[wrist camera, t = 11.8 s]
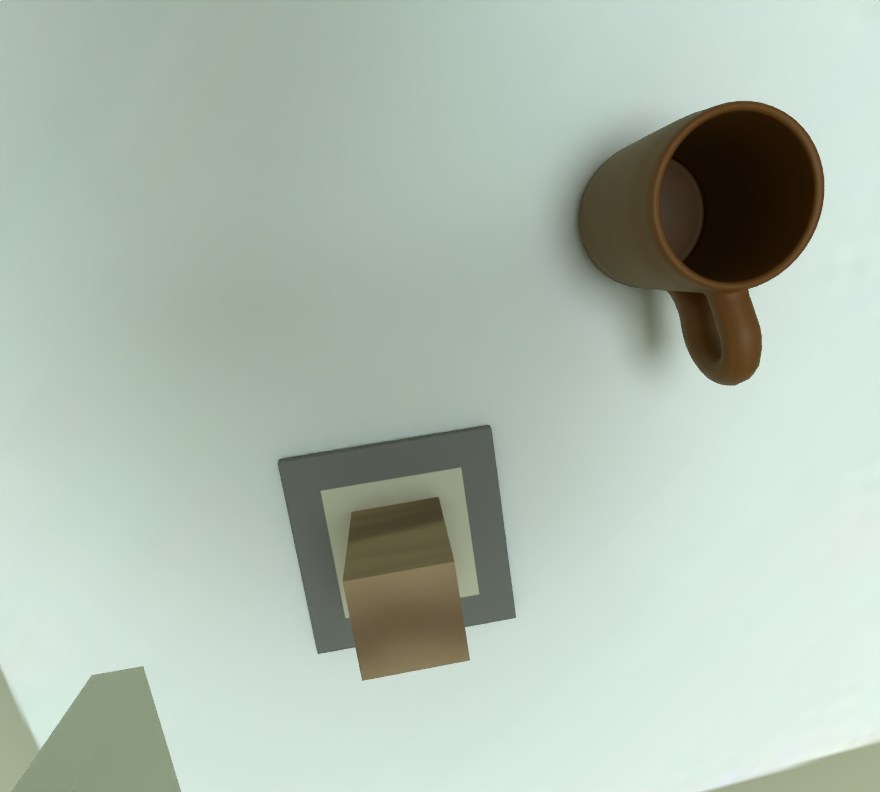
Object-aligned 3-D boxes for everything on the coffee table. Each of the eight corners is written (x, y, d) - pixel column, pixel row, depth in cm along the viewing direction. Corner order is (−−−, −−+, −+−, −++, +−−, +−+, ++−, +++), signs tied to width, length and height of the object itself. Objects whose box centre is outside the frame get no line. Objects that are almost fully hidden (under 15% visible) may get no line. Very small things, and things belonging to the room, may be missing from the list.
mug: (725, 348, 36) (843, 375, 26) (598, 377, 35) (674, 415, 26) (701, 131, 33) (822, 77, 24) (564, 160, 33) (634, 117, 24)
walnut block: (351, 511, 35) (342, 581, 27) (438, 496, 35) (454, 561, 27) (366, 591, 36) (362, 680, 28) (451, 576, 36) (469, 660, 28)
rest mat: (279, 459, 35) (277, 463, 34) (489, 425, 35) (491, 428, 35) (318, 647, 37) (317, 654, 36) (513, 612, 38) (516, 618, 37)
